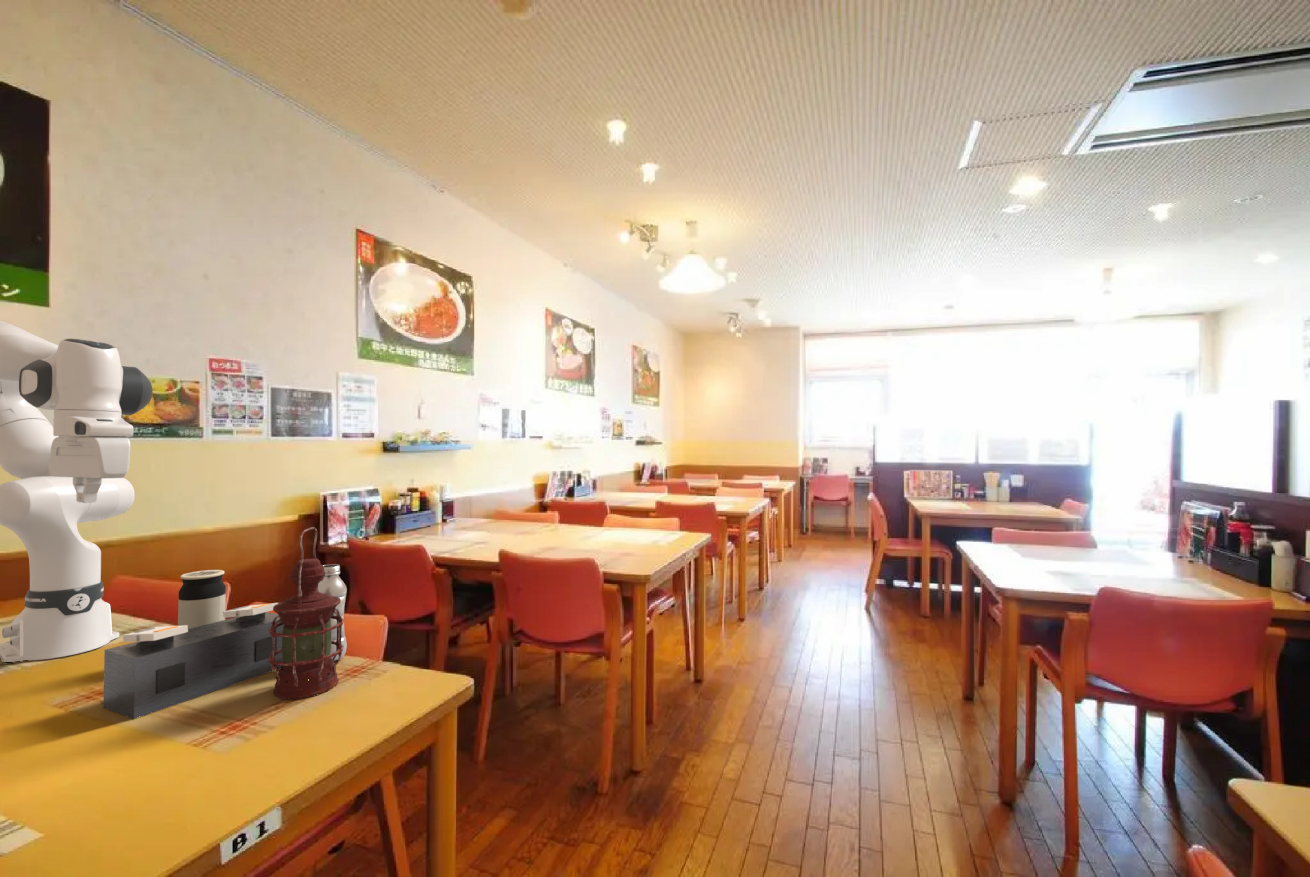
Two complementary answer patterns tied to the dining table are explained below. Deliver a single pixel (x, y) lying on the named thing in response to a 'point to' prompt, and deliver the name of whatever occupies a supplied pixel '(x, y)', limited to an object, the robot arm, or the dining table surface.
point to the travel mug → (201, 598)
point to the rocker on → (155, 633)
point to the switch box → (188, 664)
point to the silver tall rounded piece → (337, 589)
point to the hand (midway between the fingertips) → (86, 502)
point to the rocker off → (249, 610)
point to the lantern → (306, 634)
